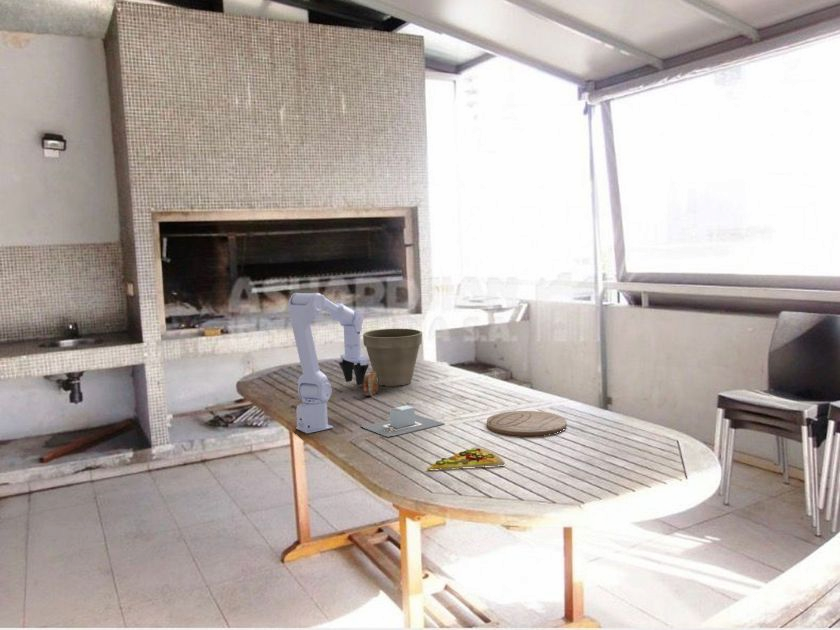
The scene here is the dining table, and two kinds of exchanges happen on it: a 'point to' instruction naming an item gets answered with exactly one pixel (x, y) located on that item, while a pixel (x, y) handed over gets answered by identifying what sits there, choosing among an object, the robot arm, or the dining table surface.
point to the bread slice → (370, 383)
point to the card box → (402, 416)
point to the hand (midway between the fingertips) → (354, 382)
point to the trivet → (526, 423)
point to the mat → (419, 425)
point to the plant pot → (393, 354)
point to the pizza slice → (469, 459)
